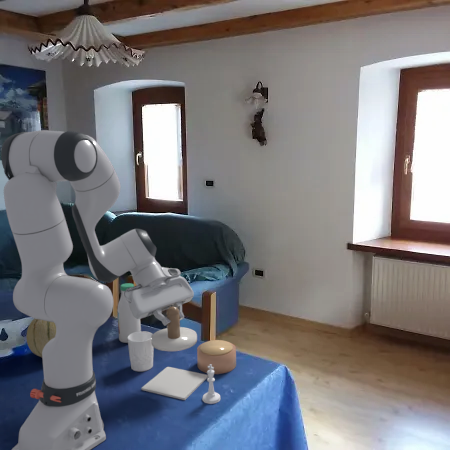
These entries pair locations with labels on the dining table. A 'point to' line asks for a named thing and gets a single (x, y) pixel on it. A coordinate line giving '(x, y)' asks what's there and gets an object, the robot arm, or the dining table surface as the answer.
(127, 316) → the milk bottle
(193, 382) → the mat
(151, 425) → the dining table surface
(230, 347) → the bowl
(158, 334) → the lid
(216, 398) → the chess piece
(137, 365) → the white cup
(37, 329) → the cantaloupe
